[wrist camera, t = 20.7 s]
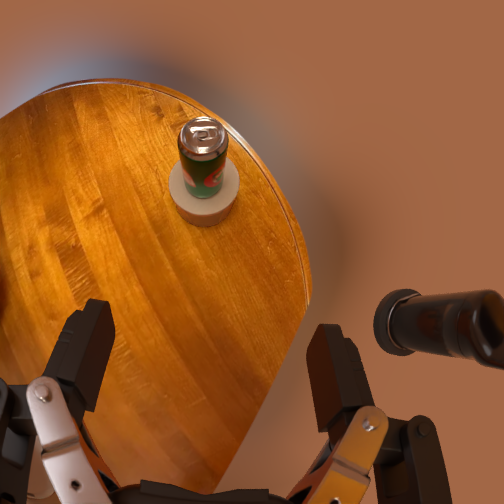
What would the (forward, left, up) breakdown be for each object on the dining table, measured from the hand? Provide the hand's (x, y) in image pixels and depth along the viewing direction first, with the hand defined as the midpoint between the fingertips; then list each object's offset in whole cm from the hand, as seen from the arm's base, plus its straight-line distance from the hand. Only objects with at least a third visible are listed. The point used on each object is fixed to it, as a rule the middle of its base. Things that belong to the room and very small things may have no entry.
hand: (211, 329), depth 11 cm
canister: (+9, -14, -33) cm, 37 cm away
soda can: (+9, -14, -26) cm, 31 cm away
